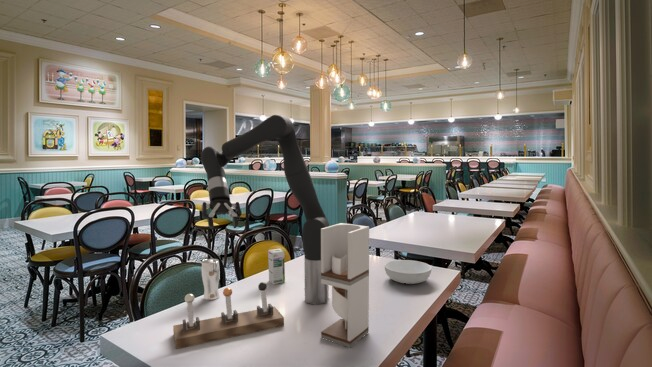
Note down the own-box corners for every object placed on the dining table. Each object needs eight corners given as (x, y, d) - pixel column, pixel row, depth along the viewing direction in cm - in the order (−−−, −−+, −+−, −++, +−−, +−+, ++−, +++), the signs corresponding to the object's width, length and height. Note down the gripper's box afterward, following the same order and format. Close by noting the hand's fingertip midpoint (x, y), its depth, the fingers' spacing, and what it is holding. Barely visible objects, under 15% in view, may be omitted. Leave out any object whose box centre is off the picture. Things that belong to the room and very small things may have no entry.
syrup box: (272, 284, 168) (272, 252, 167) (268, 280, 173) (268, 249, 172) (285, 282, 170) (284, 250, 169) (280, 278, 176) (279, 247, 174)
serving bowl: (437, 278, 176) (437, 263, 175) (422, 292, 158) (422, 276, 158) (394, 270, 187) (395, 256, 186) (376, 283, 169) (376, 268, 169)
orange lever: (233, 319, 127) (230, 286, 129) (235, 320, 124) (232, 287, 126) (224, 321, 126) (221, 288, 128) (226, 322, 123) (223, 288, 125)
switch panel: (274, 314, 137) (274, 298, 137) (284, 325, 128) (283, 309, 128) (173, 334, 123) (172, 317, 122) (176, 349, 114) (175, 330, 113)
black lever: (268, 312, 132) (265, 281, 134) (270, 313, 129) (267, 281, 131) (260, 314, 131) (256, 282, 133) (262, 314, 128) (259, 282, 130)
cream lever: (196, 326, 122) (193, 292, 124) (197, 327, 119) (194, 292, 121) (186, 328, 120) (183, 294, 122) (186, 329, 118) (184, 294, 120)
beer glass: (215, 301, 149) (214, 264, 148) (199, 300, 151) (197, 263, 149) (223, 294, 156) (222, 259, 155) (207, 293, 158) (206, 258, 156)
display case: (341, 324, 129) (341, 222, 126) (368, 332, 123) (369, 226, 120) (321, 337, 120) (320, 228, 117) (350, 347, 114) (350, 233, 111)
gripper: (201, 185, 142) (206, 223, 134) (238, 185, 149) (245, 222, 141) (197, 196, 147) (202, 233, 139) (234, 196, 154) (240, 231, 146)
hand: (224, 227), depth 140 cm, fingers open, 8 cm apart
